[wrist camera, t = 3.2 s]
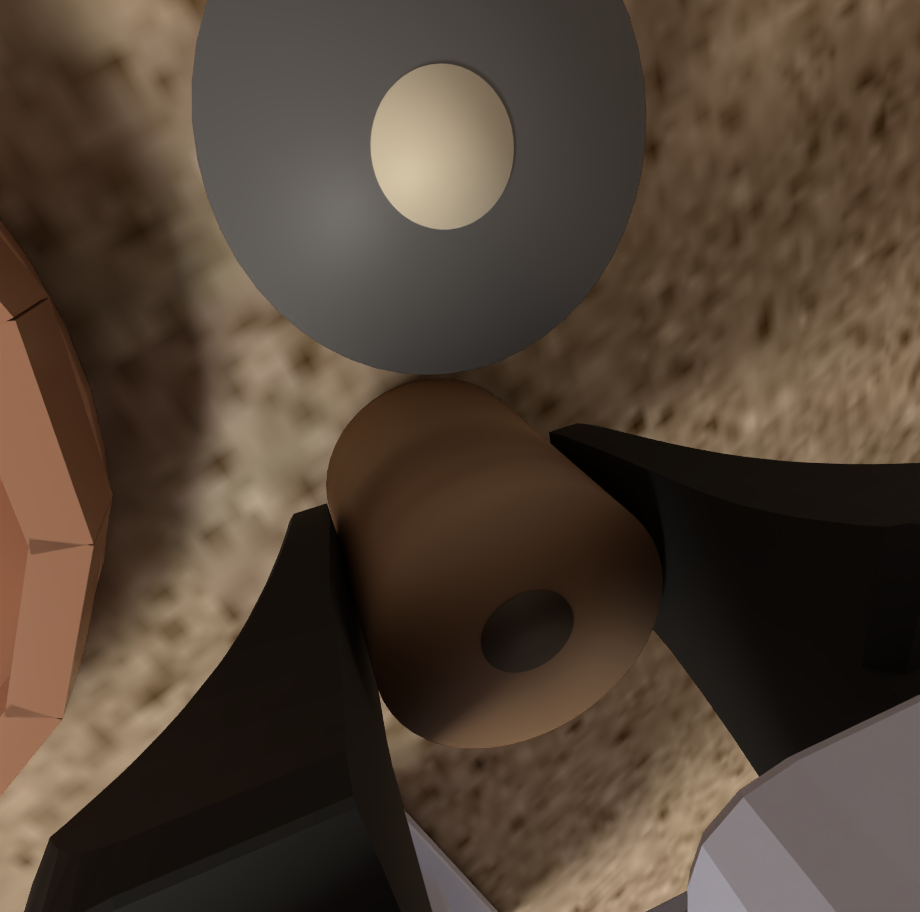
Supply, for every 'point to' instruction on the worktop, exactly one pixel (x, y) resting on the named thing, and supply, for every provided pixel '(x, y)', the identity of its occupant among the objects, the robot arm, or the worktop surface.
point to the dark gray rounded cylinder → (420, 165)
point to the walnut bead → (484, 567)
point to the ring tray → (43, 511)
